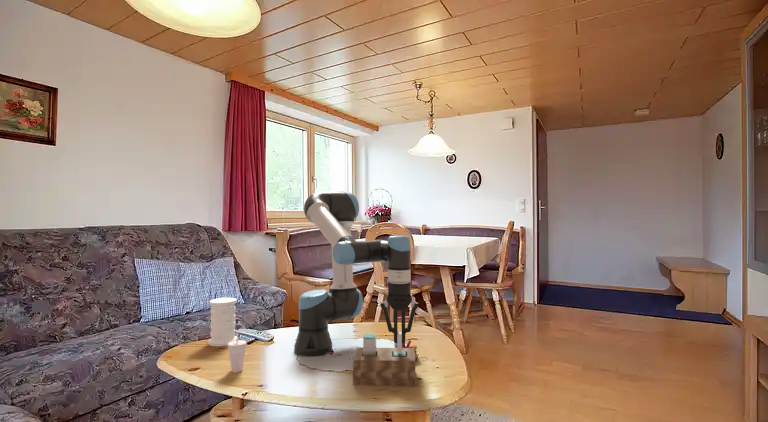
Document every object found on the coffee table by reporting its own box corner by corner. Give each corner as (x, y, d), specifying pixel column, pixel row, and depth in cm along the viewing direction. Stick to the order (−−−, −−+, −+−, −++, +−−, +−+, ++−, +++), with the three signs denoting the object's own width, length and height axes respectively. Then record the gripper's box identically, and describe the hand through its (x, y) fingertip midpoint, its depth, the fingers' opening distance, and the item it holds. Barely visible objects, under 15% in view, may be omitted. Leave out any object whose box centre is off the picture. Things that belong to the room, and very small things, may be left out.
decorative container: (231, 346, 163) (231, 303, 164) (203, 346, 164) (203, 303, 164) (241, 337, 175) (241, 297, 175) (215, 337, 175) (215, 297, 175)
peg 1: (363, 361, 130) (363, 337, 130) (364, 357, 134) (364, 333, 134) (375, 361, 129) (375, 337, 130) (376, 357, 133) (376, 333, 134)
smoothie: (228, 375, 134) (228, 334, 134) (226, 368, 140) (226, 329, 140) (248, 371, 137) (248, 331, 137) (245, 365, 142) (245, 326, 143)
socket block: (352, 385, 126) (352, 360, 126) (357, 370, 138) (356, 347, 138) (415, 386, 125) (415, 360, 125) (414, 371, 137) (414, 348, 137)
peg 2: (393, 379, 129) (393, 355, 129) (393, 374, 133) (393, 351, 133) (405, 380, 129) (405, 355, 129) (405, 375, 133) (405, 351, 133)
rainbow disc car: (416, 364, 144) (416, 344, 144) (390, 362, 146) (390, 342, 146) (418, 355, 152) (418, 337, 152) (394, 354, 154) (394, 335, 154)
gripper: (379, 283, 128) (379, 356, 128) (419, 283, 127) (419, 356, 127) (380, 280, 135) (380, 348, 135) (418, 280, 135) (418, 349, 135)
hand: (399, 352), depth 131 cm, fingers closed
